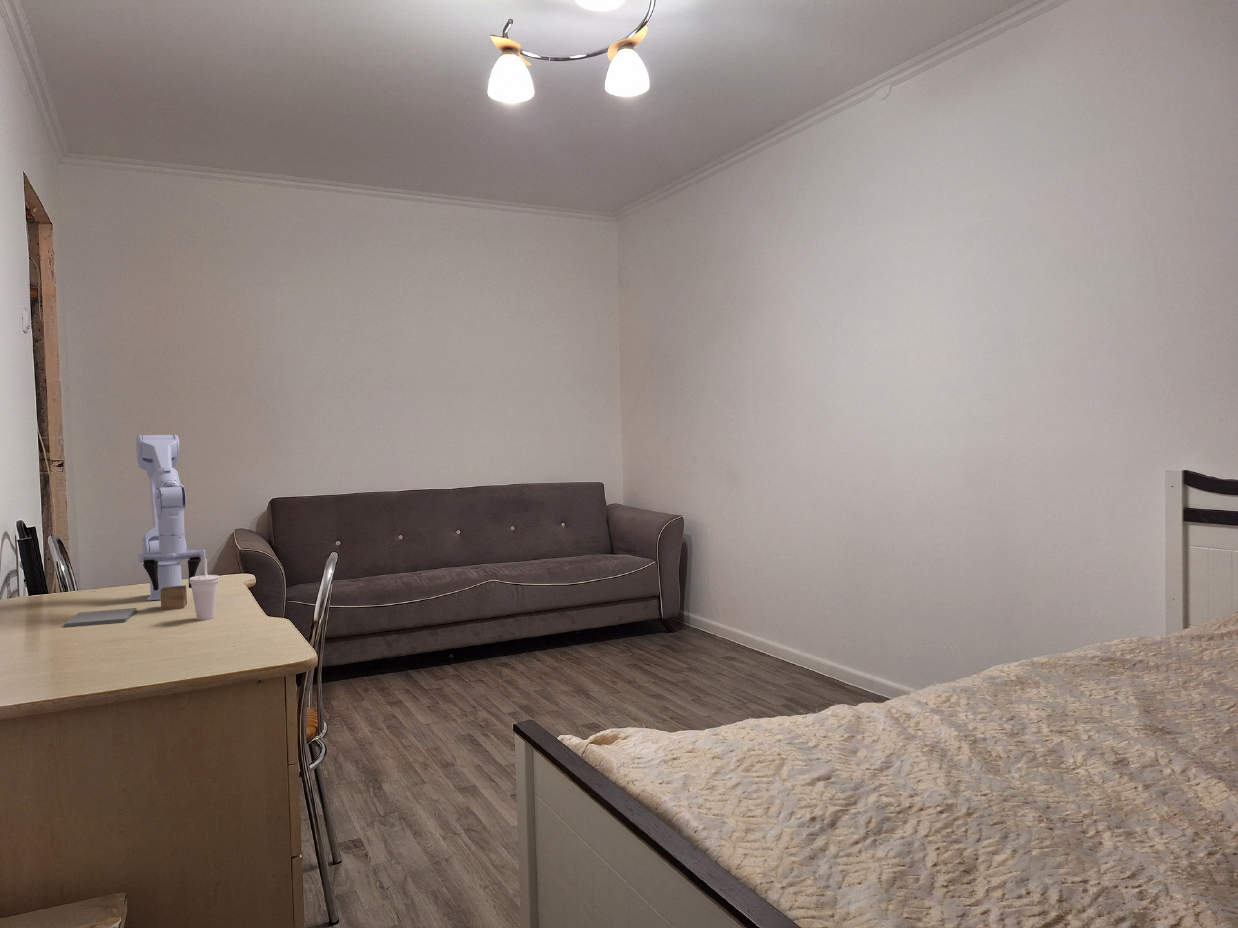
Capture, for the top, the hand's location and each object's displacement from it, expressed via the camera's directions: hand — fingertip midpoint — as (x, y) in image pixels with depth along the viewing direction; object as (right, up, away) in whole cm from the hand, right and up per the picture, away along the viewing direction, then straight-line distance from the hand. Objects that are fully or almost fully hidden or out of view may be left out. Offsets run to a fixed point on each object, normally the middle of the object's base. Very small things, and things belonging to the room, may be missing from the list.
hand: (173, 588), depth 199 cm
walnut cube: (0, -5, 0) cm, 5 cm away
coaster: (-10, -5, -12) cm, 17 cm away
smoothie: (+14, -5, -12) cm, 19 cm away
